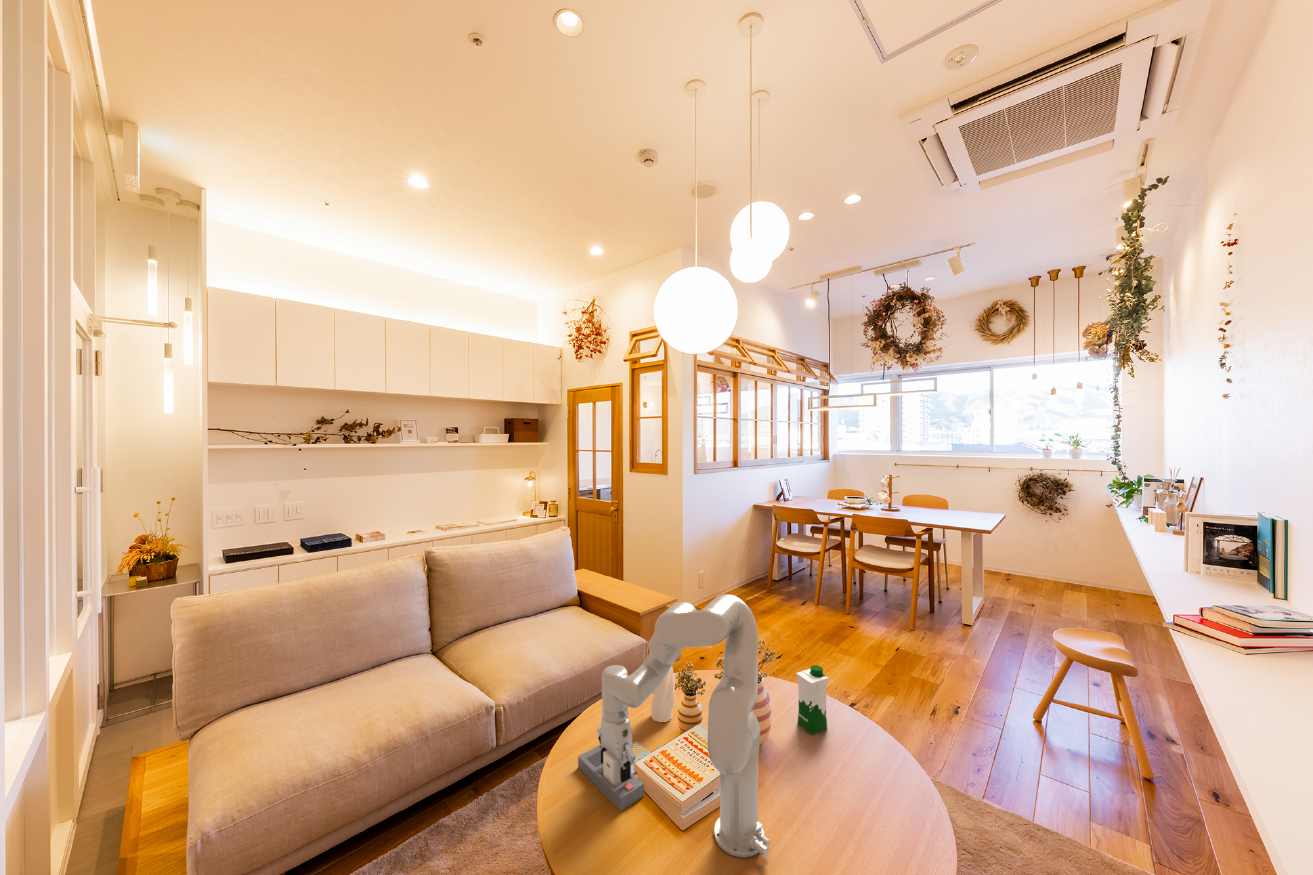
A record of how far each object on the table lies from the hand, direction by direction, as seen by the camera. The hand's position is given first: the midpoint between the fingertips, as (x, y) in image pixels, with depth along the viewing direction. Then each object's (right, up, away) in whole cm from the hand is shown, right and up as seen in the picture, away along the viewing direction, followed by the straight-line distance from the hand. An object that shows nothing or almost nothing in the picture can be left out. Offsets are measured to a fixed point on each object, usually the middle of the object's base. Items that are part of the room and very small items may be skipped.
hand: (615, 770), depth 135 cm
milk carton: (+66, -5, +28) cm, 72 cm away
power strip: (-2, -5, +2) cm, 6 cm away
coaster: (+4, -5, +12) cm, 13 cm away
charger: (0, -3, 0) cm, 3 cm away
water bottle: (+14, -5, +33) cm, 36 cm away
